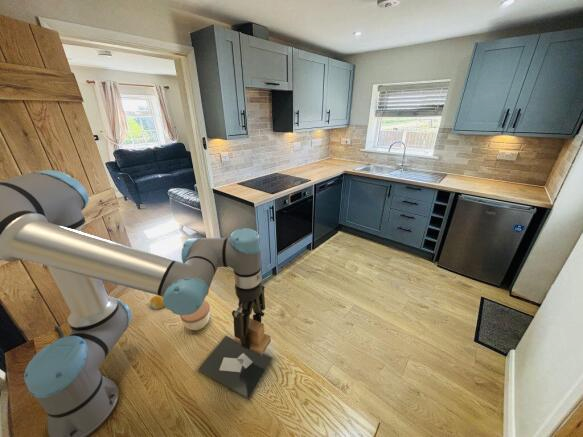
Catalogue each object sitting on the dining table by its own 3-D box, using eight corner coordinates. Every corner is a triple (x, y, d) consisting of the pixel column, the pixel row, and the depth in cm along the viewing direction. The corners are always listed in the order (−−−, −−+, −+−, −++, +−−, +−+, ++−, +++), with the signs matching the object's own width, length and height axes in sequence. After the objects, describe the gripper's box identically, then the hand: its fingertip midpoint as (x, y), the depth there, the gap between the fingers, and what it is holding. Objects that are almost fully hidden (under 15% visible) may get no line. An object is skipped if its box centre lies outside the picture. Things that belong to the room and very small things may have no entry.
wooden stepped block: (234, 344, 77) (232, 325, 73) (245, 329, 82) (243, 311, 78) (261, 356, 73) (260, 337, 69) (270, 341, 78) (270, 322, 74)
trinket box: (216, 314, 99) (213, 297, 95) (205, 336, 89) (201, 318, 85) (191, 312, 100) (187, 295, 96) (178, 334, 90) (173, 316, 86)
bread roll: (177, 299, 107) (175, 292, 105) (157, 312, 100) (155, 305, 98) (167, 292, 111) (165, 285, 109) (147, 303, 104) (145, 296, 102)
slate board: (198, 370, 78) (197, 369, 77) (226, 337, 89) (225, 335, 89) (249, 399, 70) (249, 398, 70) (272, 359, 82) (272, 357, 81)
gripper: (238, 308, 57) (244, 369, 67) (276, 266, 73) (276, 321, 83) (214, 298, 60) (223, 358, 70) (255, 260, 76) (258, 313, 86)
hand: (252, 338), depth 76 cm, fingers closed on wooden stepped block, 6 cm apart
